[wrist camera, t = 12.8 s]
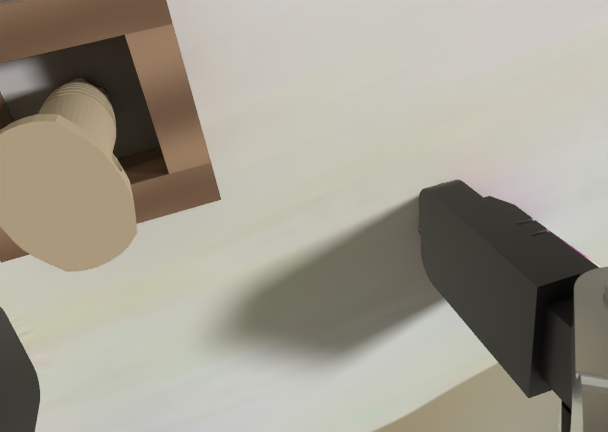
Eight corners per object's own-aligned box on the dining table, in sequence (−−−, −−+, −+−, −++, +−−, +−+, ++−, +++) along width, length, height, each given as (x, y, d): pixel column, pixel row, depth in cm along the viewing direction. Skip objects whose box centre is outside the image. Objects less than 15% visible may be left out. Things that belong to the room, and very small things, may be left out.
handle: (79, 164, 36) (57, 290, 23) (13, 74, 33) (-56, 164, 20) (146, 127, 36) (160, 232, 23) (86, 35, 33) (65, 98, 20)
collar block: (-86, 18, 30) (-120, 31, 26) (153, -32, 33) (158, -28, 28) (15, 224, 37) (1, 262, 32) (209, 170, 39) (221, 199, 34)
